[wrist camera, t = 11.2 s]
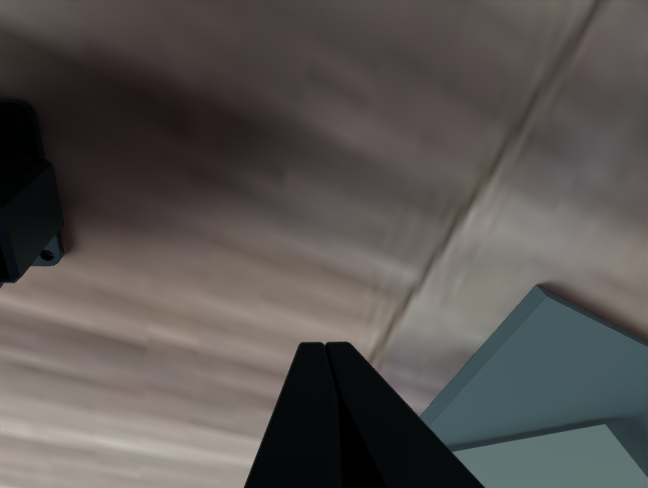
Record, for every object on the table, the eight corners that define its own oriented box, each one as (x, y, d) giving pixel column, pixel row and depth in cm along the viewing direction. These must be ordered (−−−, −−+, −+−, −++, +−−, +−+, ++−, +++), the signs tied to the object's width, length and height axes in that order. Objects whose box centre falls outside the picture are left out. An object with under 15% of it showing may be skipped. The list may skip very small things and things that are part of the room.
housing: (392, 447, 28) (412, 512, 25) (536, 284, 23) (585, 337, 20) (542, 491, 32) (577, 551, 29) (689, 362, 28) (751, 416, 24)
